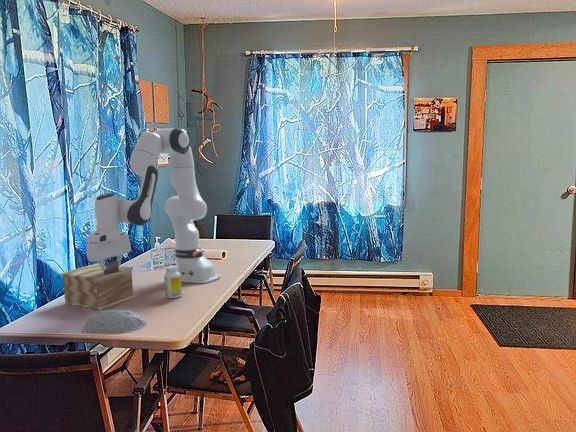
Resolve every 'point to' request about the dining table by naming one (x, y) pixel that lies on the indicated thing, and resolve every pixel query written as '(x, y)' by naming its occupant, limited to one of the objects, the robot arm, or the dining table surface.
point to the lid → (97, 271)
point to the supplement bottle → (172, 282)
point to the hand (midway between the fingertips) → (111, 267)
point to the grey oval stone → (115, 321)
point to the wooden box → (98, 290)
